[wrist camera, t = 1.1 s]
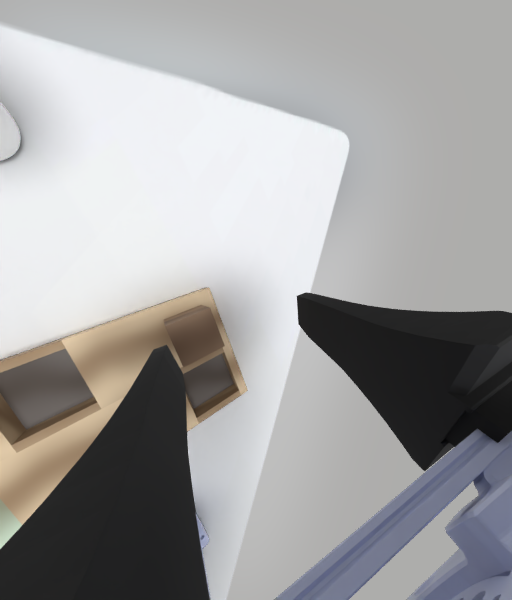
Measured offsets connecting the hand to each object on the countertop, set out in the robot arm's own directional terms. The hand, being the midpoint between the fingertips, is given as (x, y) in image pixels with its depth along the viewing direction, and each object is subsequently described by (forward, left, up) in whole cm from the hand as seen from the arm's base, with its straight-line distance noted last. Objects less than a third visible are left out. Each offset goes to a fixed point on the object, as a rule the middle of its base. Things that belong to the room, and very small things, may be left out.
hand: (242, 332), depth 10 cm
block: (-1, +2, -12) cm, 12 cm away
